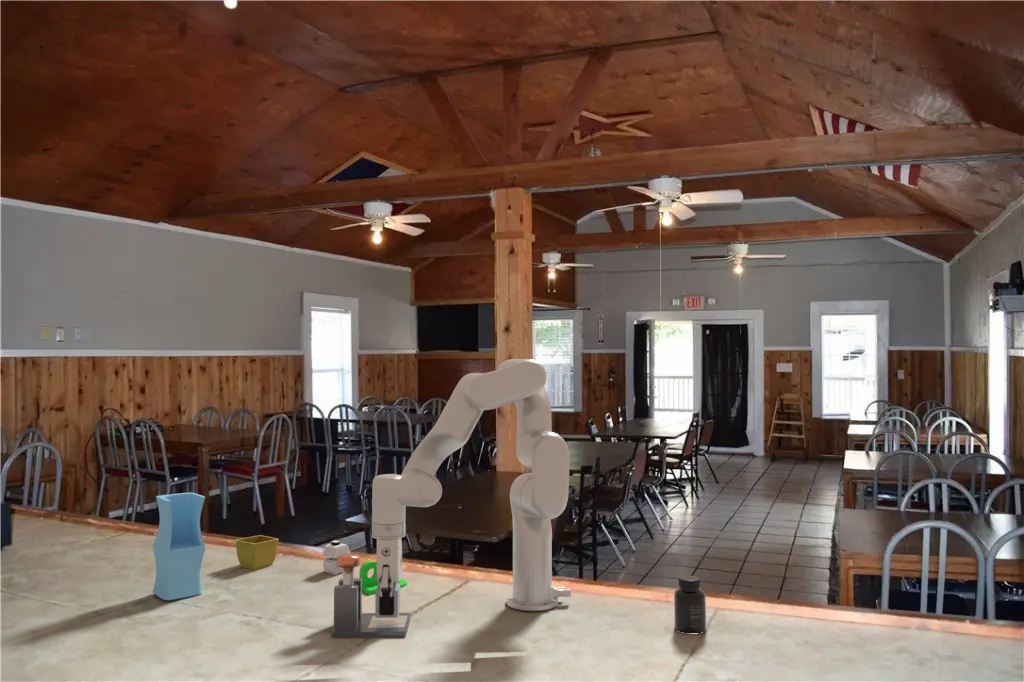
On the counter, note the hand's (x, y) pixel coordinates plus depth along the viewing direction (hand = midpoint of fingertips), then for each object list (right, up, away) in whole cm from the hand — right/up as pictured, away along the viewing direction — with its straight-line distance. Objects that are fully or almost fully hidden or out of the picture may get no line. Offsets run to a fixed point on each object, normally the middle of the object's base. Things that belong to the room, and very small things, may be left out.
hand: (388, 609), depth 178 cm
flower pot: (-46, -6, +49) cm, 67 cm away
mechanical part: (-5, -5, +28) cm, 29 cm away
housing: (0, -1, 0) cm, 1 cm away
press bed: (-3, -4, 0) cm, 5 cm away
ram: (-9, 0, 0) cm, 9 cm away
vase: (-59, -5, +26) cm, 64 cm away
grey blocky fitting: (-21, -5, +42) cm, 47 cm away
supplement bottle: (+68, -4, -3) cm, 68 cm away
